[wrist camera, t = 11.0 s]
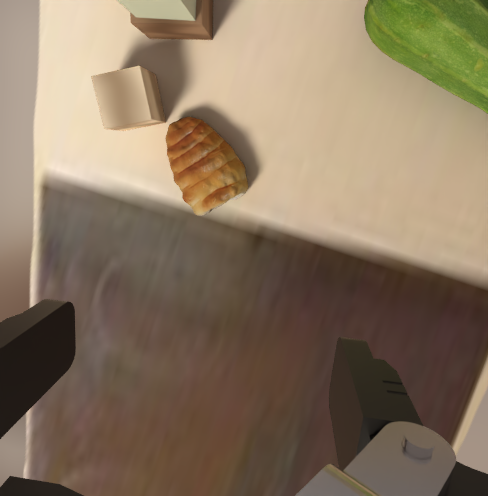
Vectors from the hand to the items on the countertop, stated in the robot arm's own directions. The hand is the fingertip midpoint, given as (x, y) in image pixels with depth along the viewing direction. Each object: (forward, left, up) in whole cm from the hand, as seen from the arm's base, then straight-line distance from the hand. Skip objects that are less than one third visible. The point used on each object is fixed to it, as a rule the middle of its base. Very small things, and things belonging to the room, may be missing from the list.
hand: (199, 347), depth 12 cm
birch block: (+13, -9, -30) cm, 34 cm away
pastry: (+6, -3, -30) cm, 31 cm away
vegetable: (-17, -14, -30) cm, 37 cm away
